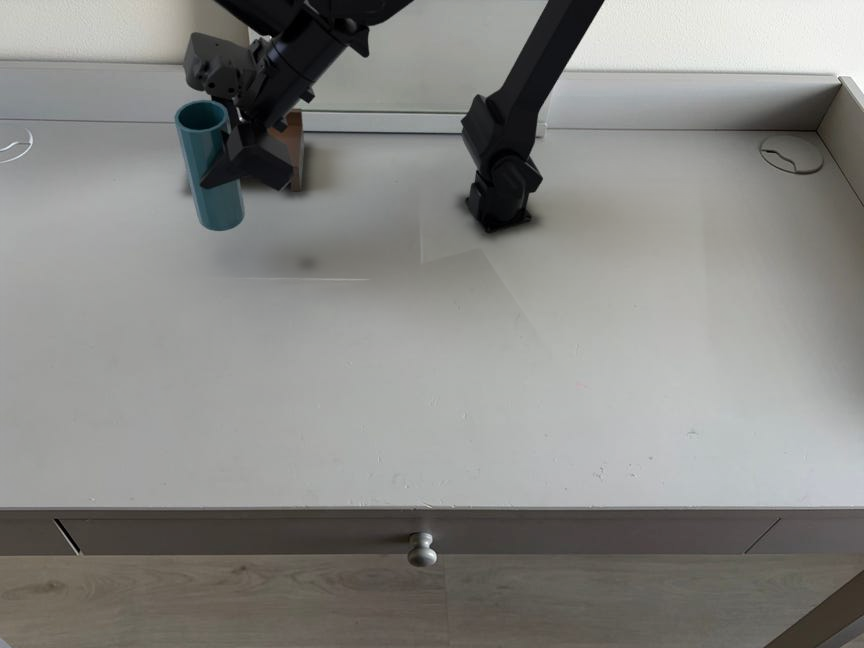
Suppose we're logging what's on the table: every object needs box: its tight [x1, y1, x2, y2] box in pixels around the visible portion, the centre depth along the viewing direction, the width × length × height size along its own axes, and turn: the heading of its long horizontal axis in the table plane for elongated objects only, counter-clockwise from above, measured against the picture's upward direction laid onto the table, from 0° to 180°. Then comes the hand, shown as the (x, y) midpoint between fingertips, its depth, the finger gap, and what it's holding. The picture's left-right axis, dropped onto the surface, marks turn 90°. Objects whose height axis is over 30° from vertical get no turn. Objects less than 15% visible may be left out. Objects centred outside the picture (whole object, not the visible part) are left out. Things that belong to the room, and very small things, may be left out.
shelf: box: [184, 107, 305, 192], centre depth 100 cm, size 14×9×6 cm, turn 90°
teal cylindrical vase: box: [173, 99, 246, 232], centre depth 81 cm, size 5×5×13 cm
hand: (199, 169), depth 81 cm, fingers closed on teal cylindrical vase, 5 cm apart
